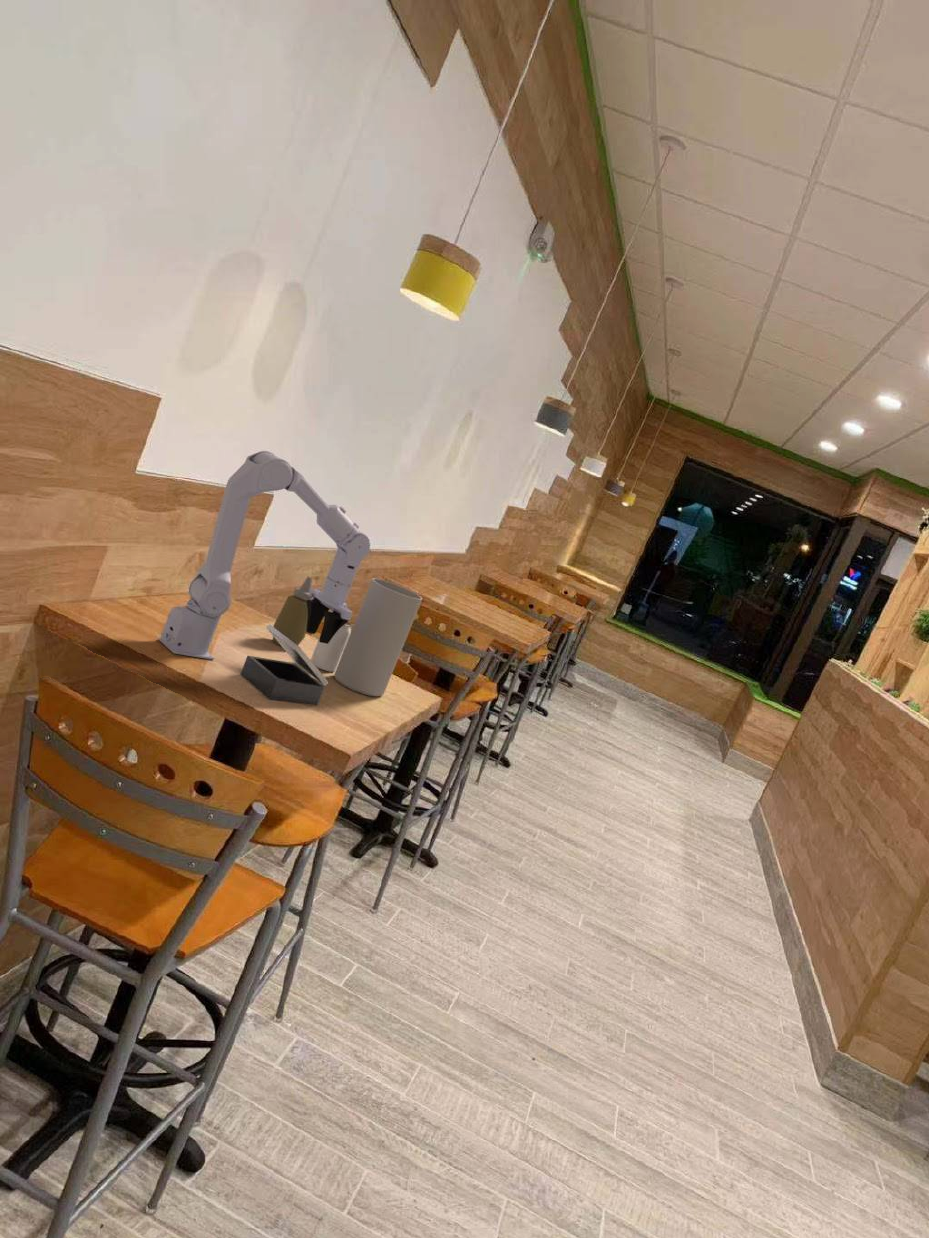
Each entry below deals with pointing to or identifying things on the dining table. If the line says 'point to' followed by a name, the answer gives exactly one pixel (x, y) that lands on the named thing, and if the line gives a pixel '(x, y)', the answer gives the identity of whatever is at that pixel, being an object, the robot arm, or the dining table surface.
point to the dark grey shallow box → (282, 681)
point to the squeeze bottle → (295, 614)
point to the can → (331, 650)
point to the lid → (297, 654)
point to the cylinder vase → (377, 637)
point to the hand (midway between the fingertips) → (316, 637)
